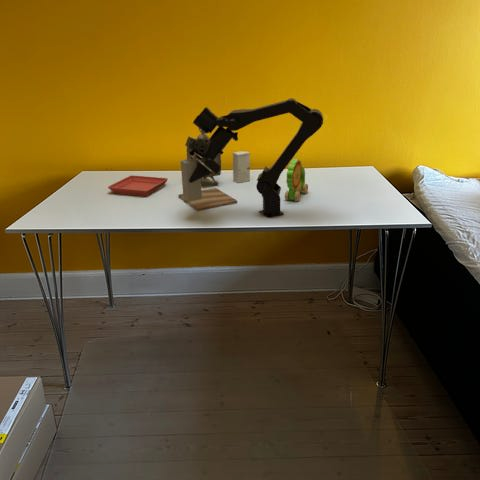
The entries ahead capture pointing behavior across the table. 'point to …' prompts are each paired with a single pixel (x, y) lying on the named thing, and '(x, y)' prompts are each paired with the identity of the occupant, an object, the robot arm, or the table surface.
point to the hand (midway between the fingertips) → (187, 180)
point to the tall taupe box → (189, 189)
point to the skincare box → (241, 166)
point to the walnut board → (210, 199)
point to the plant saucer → (138, 185)
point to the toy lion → (295, 180)
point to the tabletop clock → (217, 160)
